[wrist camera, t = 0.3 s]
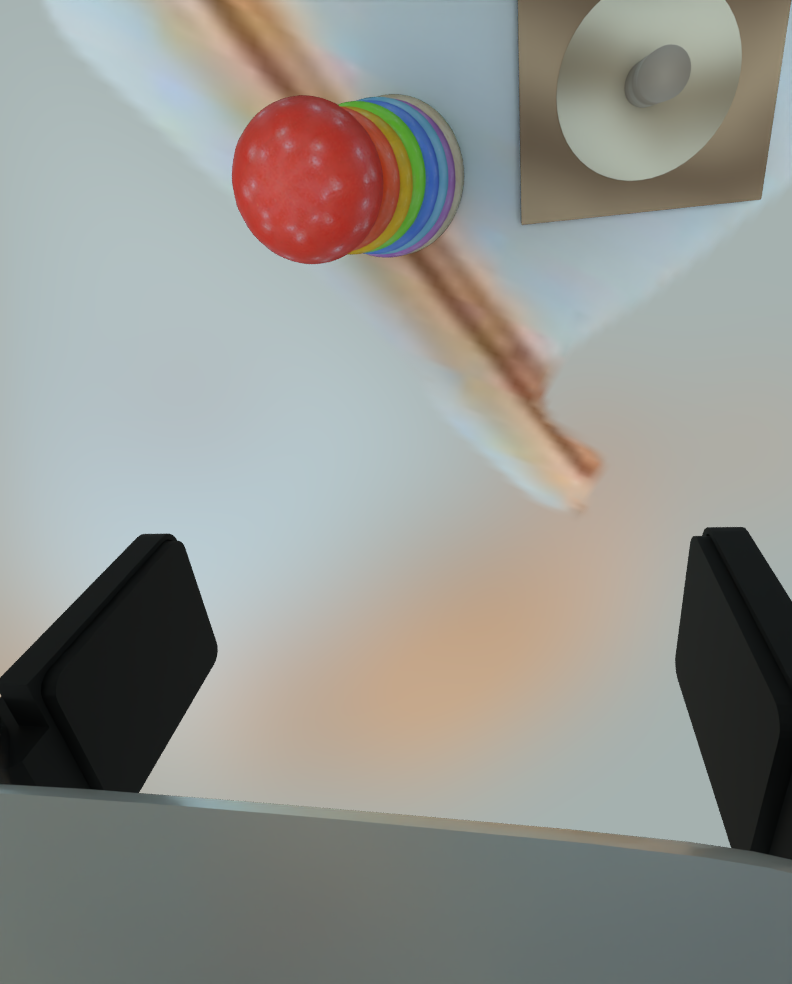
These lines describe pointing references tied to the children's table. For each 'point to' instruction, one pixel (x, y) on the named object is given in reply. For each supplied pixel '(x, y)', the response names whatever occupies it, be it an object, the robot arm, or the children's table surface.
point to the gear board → (675, 190)
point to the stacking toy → (347, 177)
